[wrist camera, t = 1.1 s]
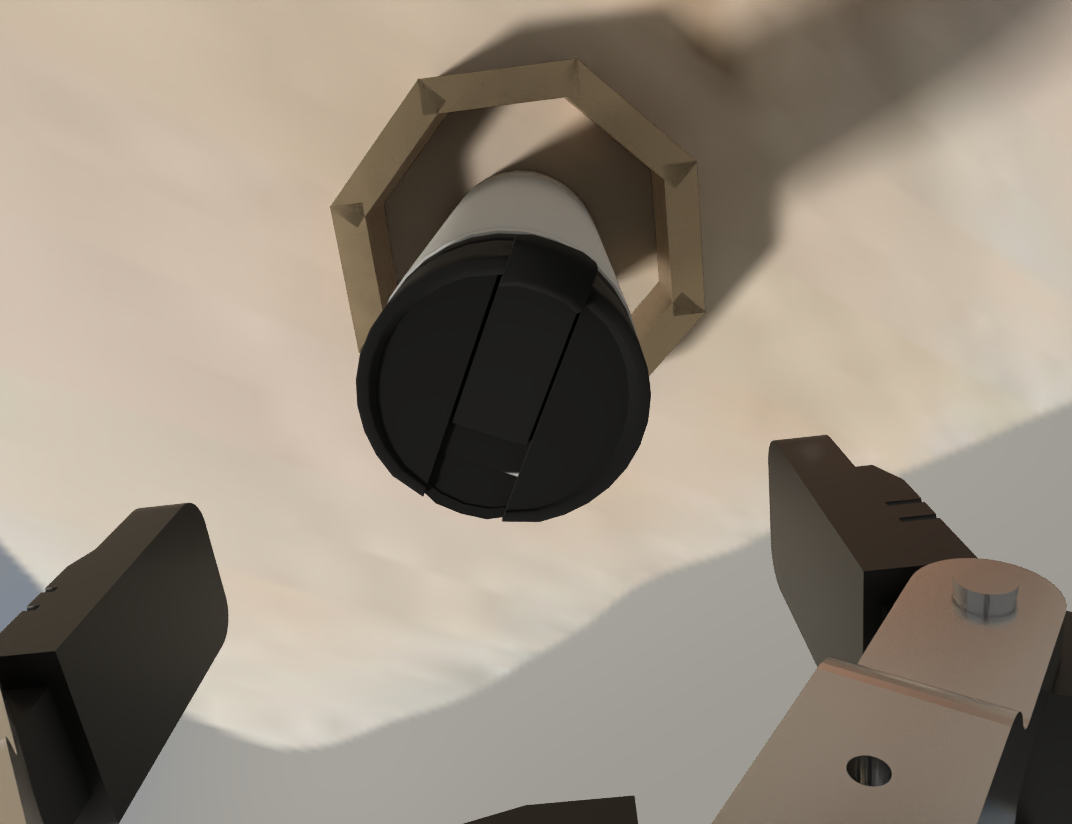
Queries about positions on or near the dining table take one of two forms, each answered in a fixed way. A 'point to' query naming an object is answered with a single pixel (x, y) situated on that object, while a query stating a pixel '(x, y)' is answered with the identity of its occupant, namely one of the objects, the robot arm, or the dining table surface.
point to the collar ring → (432, 99)
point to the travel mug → (507, 359)
